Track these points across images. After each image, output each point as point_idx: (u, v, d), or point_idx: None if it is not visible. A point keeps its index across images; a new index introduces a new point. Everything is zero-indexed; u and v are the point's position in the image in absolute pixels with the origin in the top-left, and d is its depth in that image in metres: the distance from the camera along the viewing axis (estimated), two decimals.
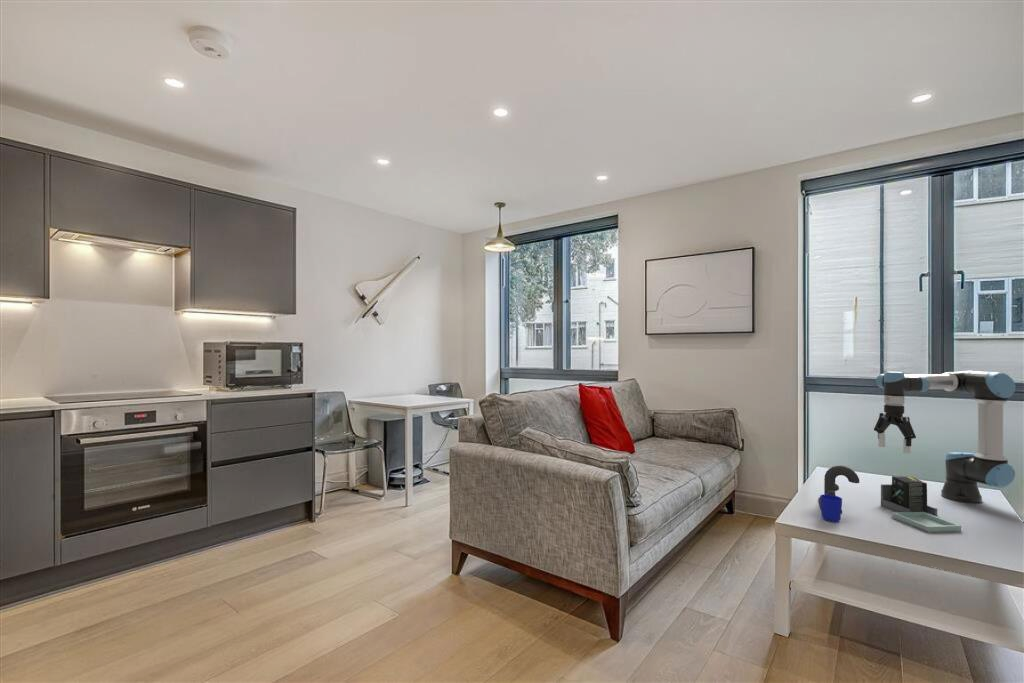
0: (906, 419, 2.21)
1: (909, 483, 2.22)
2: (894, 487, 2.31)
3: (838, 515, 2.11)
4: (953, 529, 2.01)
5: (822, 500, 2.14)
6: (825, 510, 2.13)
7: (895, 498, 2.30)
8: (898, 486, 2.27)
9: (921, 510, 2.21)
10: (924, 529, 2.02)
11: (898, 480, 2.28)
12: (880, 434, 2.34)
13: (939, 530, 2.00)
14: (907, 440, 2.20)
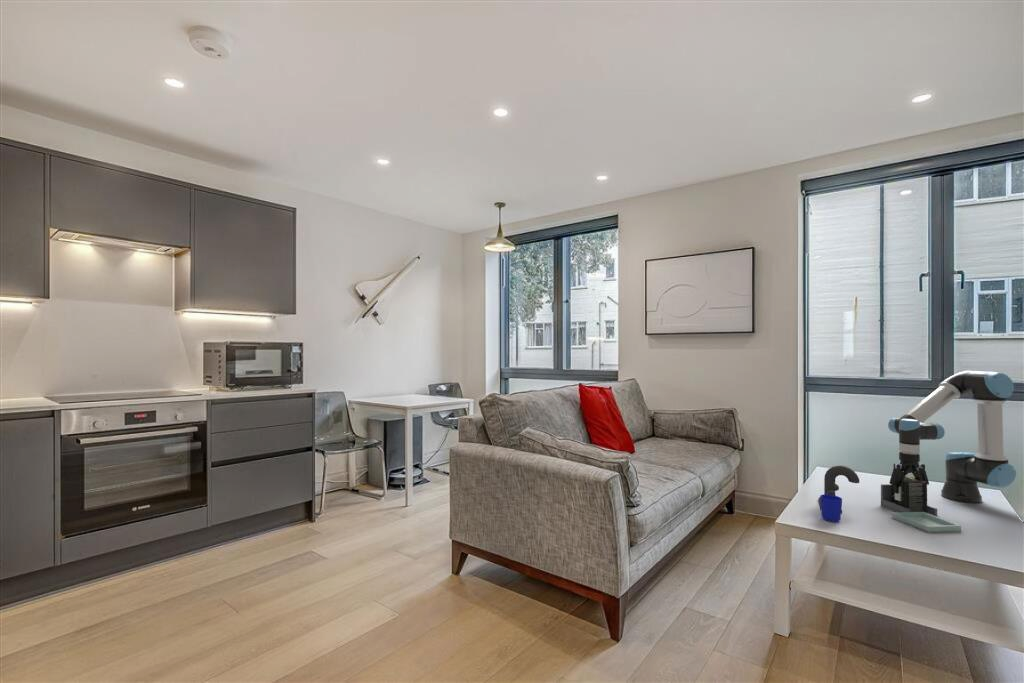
0: (895, 466, 2.27)
1: (909, 483, 2.22)
2: None
3: (838, 515, 2.11)
4: (953, 529, 2.01)
5: (822, 500, 2.14)
6: (825, 510, 2.13)
7: None
8: None
9: (921, 510, 2.21)
10: (924, 529, 2.02)
11: None
12: None
13: (939, 530, 2.00)
14: None
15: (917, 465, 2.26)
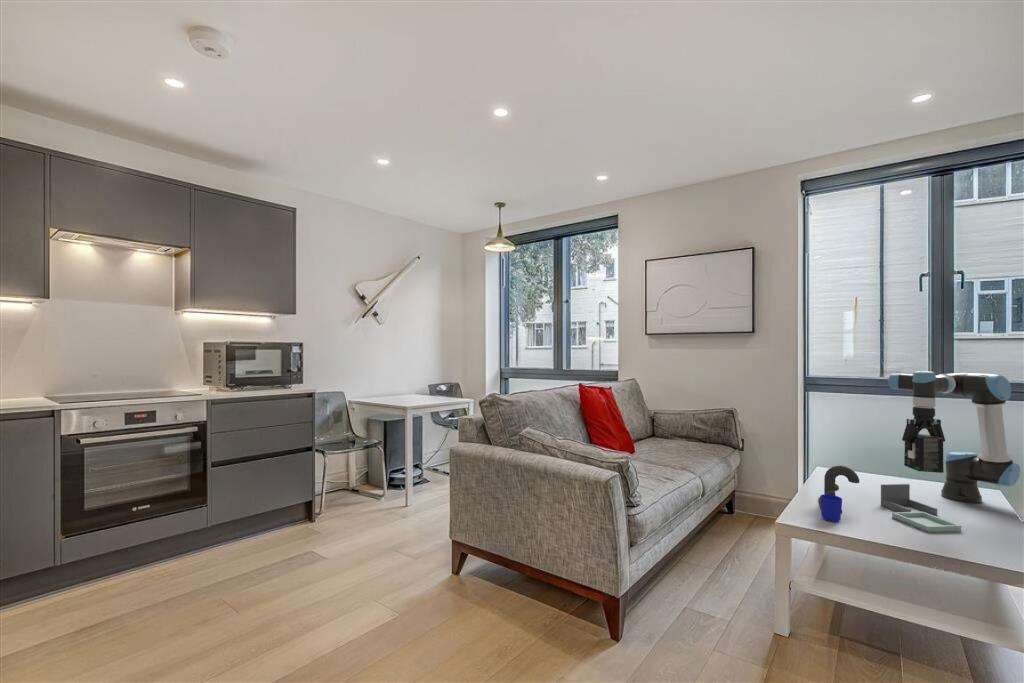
0: (908, 421, 2.11)
1: (924, 439, 2.06)
2: None
3: (838, 515, 2.11)
4: (953, 529, 2.01)
5: (822, 500, 2.14)
6: (825, 510, 2.13)
7: (908, 457, 2.14)
8: None
9: (937, 468, 2.05)
10: (924, 529, 2.02)
11: None
12: None
13: (939, 530, 2.00)
14: None
15: (932, 420, 2.10)
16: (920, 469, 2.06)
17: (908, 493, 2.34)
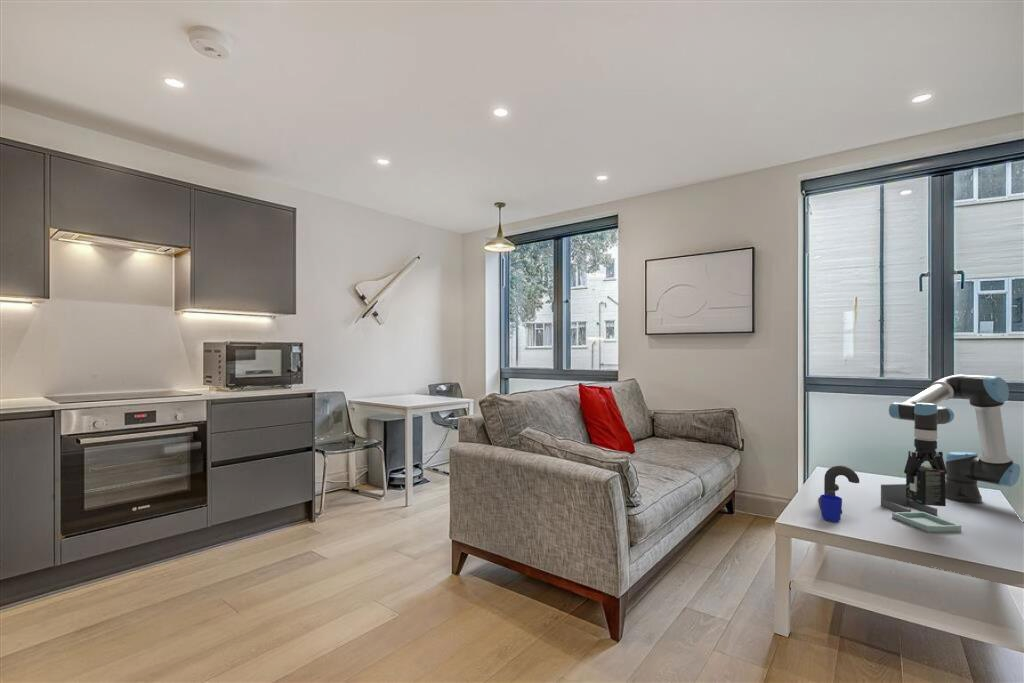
0: (910, 454, 2.09)
1: (926, 472, 2.05)
2: None
3: (838, 515, 2.11)
4: (953, 529, 2.01)
5: (822, 500, 2.14)
6: (825, 510, 2.13)
7: (909, 489, 2.12)
8: None
9: (939, 501, 2.03)
10: (924, 529, 2.02)
11: None
12: None
13: (939, 530, 2.00)
14: None
15: (934, 453, 2.08)
16: (922, 502, 2.05)
17: None
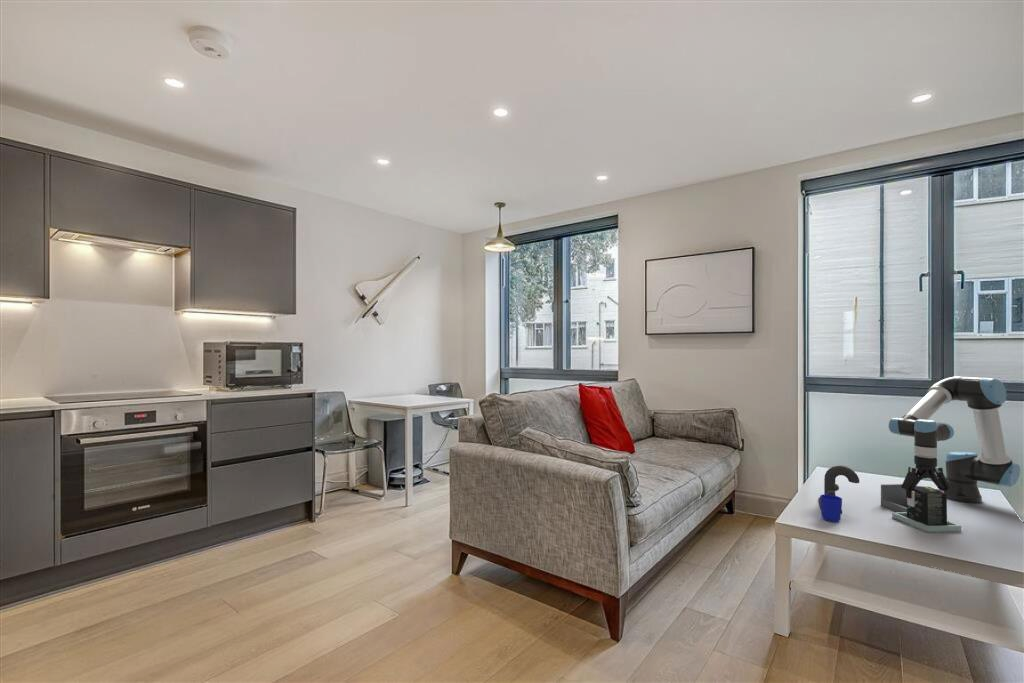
0: (910, 469, 2.09)
1: (928, 494, 2.04)
2: None
3: (838, 515, 2.11)
4: (953, 529, 2.01)
5: (822, 500, 2.14)
6: (825, 510, 2.13)
7: (910, 510, 2.12)
8: (915, 496, 2.09)
9: (940, 523, 2.03)
10: (924, 529, 2.02)
11: (915, 490, 2.10)
12: None
13: (939, 530, 2.00)
14: None
15: (934, 470, 2.08)
16: (924, 524, 2.04)
17: None
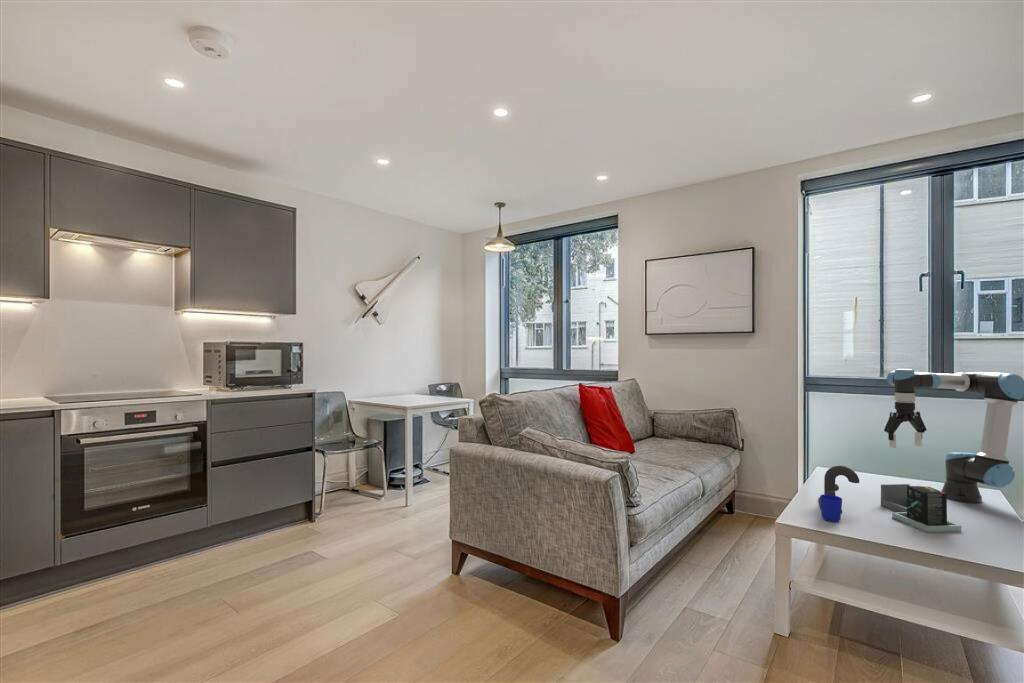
0: (891, 414, 2.29)
1: (928, 494, 2.04)
2: (910, 498, 2.13)
3: (838, 515, 2.11)
4: (953, 529, 2.01)
5: (822, 500, 2.14)
6: (825, 510, 2.13)
7: (910, 510, 2.12)
8: (915, 496, 2.09)
9: (940, 523, 2.03)
10: (924, 529, 2.02)
11: (915, 490, 2.10)
12: (915, 432, 2.32)
13: (939, 530, 2.00)
14: None
15: (912, 414, 2.29)
16: (924, 524, 2.04)
17: None
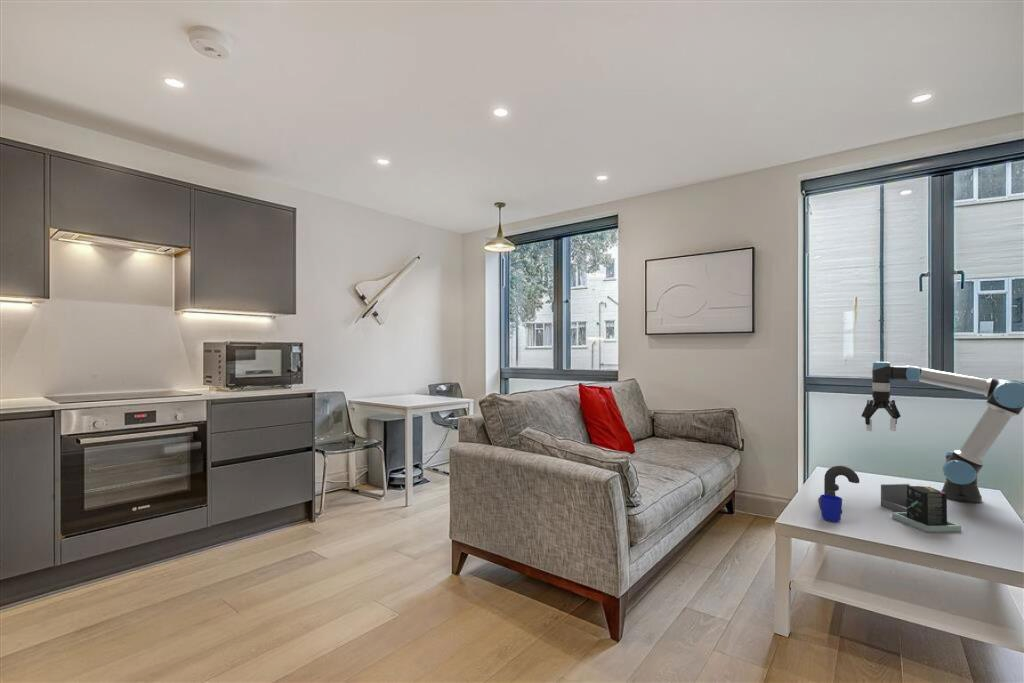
0: (868, 401, 2.58)
1: (928, 494, 2.04)
2: (910, 498, 2.13)
3: (838, 515, 2.11)
4: (953, 529, 2.01)
5: (822, 500, 2.14)
6: (825, 510, 2.13)
7: (910, 510, 2.12)
8: (915, 496, 2.09)
9: (940, 523, 2.03)
10: (924, 529, 2.02)
11: (915, 490, 2.10)
12: (890, 418, 2.60)
13: (939, 530, 2.00)
14: None
15: (888, 401, 2.57)
16: (924, 524, 2.04)
17: None
